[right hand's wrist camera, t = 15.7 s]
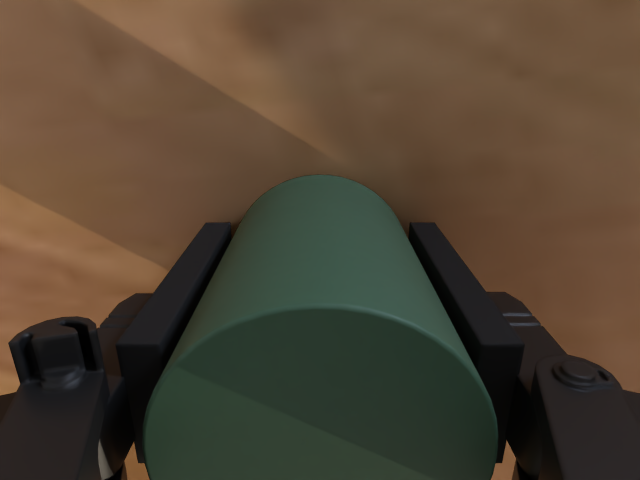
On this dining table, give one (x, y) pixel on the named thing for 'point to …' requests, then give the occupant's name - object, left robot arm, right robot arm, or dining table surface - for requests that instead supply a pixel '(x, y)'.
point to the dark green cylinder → (320, 356)
